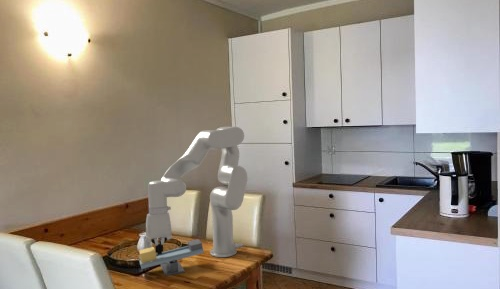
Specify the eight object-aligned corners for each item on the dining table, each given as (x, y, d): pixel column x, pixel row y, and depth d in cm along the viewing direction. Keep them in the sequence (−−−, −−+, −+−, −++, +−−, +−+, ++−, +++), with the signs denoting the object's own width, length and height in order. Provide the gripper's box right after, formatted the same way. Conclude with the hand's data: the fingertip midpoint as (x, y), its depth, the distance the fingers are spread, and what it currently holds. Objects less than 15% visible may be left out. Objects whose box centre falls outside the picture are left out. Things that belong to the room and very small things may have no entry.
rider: (155, 257, 164) (153, 246, 164) (156, 260, 160) (155, 250, 159) (140, 260, 162) (139, 250, 162) (141, 264, 158) (140, 253, 157)
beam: (199, 248, 174) (197, 238, 173) (204, 254, 165) (202, 243, 165) (139, 263, 164) (138, 252, 164) (141, 270, 156) (140, 259, 155)
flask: (151, 261, 175) (150, 239, 175) (136, 260, 177) (135, 238, 176) (158, 255, 182) (157, 234, 182) (144, 254, 184) (143, 234, 183)
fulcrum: (178, 263, 172) (178, 253, 172) (184, 272, 161) (184, 262, 160) (160, 265, 169) (160, 256, 169) (165, 275, 158) (164, 265, 158)
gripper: (174, 207, 168) (175, 248, 169) (138, 210, 162) (140, 253, 163) (177, 210, 161) (178, 253, 162) (140, 214, 155) (142, 259, 156)
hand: (159, 253), depth 163 cm, fingers closed
